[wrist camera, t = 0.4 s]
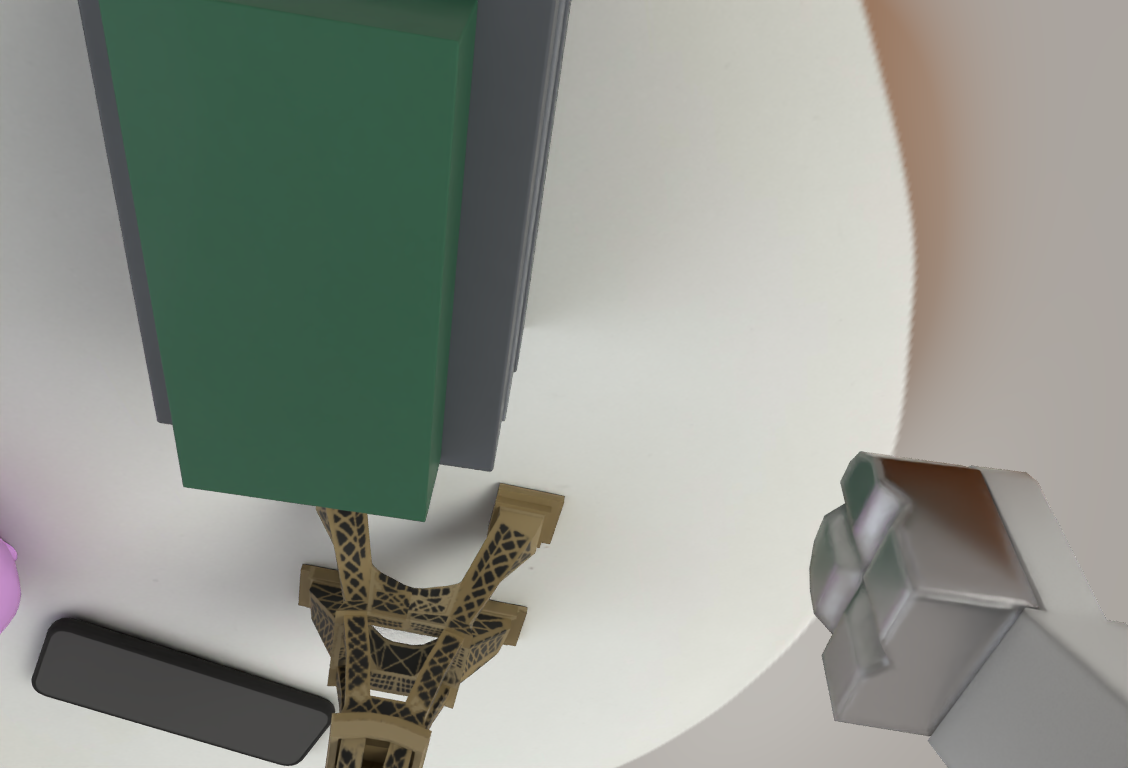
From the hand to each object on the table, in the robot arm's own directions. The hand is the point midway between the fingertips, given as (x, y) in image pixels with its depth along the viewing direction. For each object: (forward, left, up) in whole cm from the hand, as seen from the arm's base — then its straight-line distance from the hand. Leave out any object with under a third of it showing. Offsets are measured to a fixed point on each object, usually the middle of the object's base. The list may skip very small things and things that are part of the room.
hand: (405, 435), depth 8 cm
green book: (+7, -4, -13) cm, 15 cm away
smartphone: (+41, -14, -20) cm, 48 cm away
